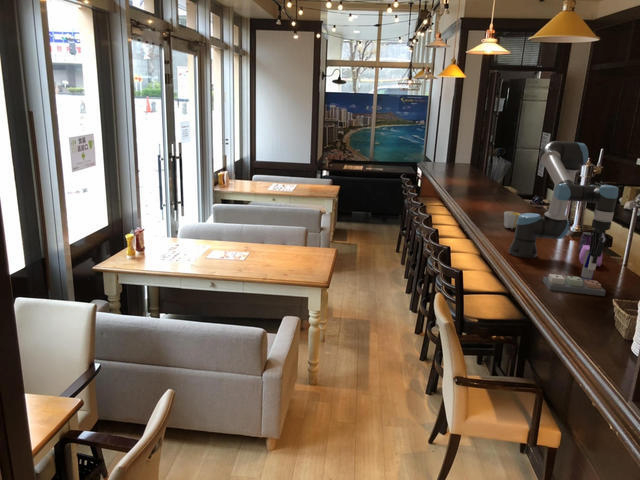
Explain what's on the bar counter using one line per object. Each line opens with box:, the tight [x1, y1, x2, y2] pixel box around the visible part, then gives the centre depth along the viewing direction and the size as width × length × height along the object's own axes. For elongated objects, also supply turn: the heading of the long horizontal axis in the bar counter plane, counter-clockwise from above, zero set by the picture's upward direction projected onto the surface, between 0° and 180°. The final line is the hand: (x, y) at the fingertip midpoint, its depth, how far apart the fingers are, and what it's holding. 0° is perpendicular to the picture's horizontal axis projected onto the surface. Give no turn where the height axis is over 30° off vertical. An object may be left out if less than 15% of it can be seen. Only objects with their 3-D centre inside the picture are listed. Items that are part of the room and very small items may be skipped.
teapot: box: [578, 245, 603, 267], centre depth 283 cm, size 18×10×10 cm, turn 162°
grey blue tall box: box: [580, 250, 595, 281], centre depth 253 cm, size 5×5×15 cm
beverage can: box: [577, 231, 591, 253], centre depth 301 cm, size 7×7×12 cm
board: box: [542, 276, 607, 297], centre depth 241 cm, size 12×24×2 cm, turn 81°
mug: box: [503, 210, 521, 230], centre depth 351 cm, size 14×10×10 cm
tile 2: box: [565, 275, 584, 287], centre depth 240 cm, size 6×6×3 cm
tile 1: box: [547, 273, 566, 285], centre depth 241 cm, size 6×6×3 cm
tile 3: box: [583, 279, 602, 289], centre depth 240 cm, size 6×6×3 cm
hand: (591, 269), depth 238 cm, fingers closed
